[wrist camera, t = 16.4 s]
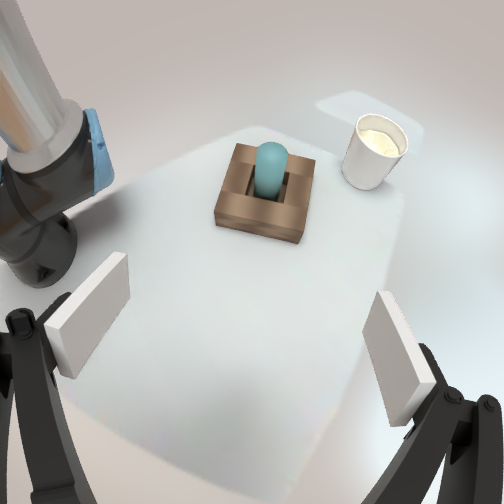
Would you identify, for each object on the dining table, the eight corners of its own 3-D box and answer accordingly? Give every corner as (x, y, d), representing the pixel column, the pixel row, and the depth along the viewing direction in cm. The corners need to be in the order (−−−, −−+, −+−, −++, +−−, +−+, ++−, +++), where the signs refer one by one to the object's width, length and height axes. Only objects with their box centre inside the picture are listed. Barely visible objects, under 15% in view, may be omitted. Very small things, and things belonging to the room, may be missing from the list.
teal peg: (250, 204, 53) (253, 162, 42) (256, 183, 55) (260, 139, 44) (275, 210, 53) (285, 169, 42) (280, 188, 55) (290, 145, 44)
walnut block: (215, 225, 53) (213, 211, 48) (236, 159, 58) (236, 143, 53) (298, 243, 52) (303, 231, 48) (310, 176, 57) (315, 160, 53)
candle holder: (329, 158, 59) (345, 116, 48) (369, 149, 61) (389, 111, 49) (352, 199, 56) (374, 161, 45) (392, 188, 57) (418, 152, 46)
